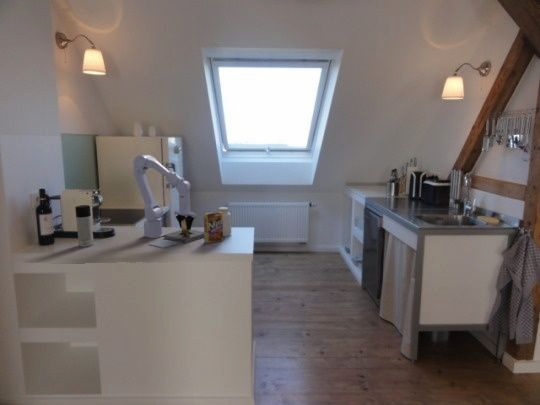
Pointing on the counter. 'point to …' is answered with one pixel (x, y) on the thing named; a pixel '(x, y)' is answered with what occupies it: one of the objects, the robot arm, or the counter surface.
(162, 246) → the mat
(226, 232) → the pill bottle
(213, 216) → the candy box
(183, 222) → the end plug
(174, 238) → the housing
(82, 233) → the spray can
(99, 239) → the counter surface
